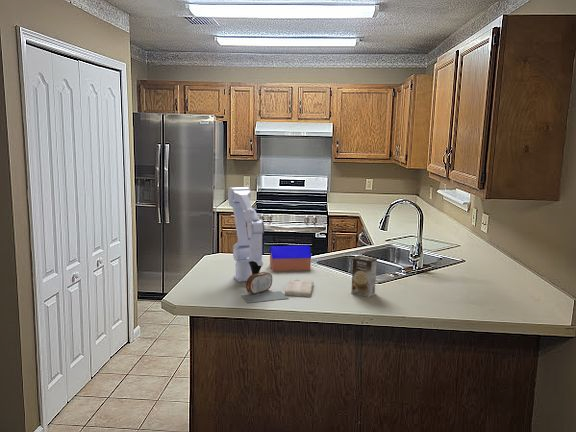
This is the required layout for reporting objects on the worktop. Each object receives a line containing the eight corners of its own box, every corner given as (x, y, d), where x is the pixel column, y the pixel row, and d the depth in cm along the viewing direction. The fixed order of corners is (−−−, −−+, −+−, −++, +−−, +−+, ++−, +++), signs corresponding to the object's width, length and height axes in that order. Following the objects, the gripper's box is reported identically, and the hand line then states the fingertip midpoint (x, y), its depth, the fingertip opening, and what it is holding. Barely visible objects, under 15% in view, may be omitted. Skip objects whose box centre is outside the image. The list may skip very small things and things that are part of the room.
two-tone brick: (269, 265, 270) (269, 243, 268) (306, 264, 273) (306, 242, 271) (272, 271, 258) (272, 249, 256) (311, 270, 262) (311, 248, 260)
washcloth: (313, 285, 238) (313, 279, 237) (311, 298, 220) (311, 291, 219) (288, 284, 239) (288, 278, 238) (284, 296, 221) (284, 290, 221)
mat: (241, 295, 220) (241, 295, 220) (280, 291, 226) (280, 291, 226) (247, 303, 211) (247, 302, 211) (288, 298, 217) (288, 298, 217)
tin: (268, 287, 231) (268, 269, 230) (273, 289, 229) (273, 270, 228) (245, 295, 220) (245, 275, 219) (250, 296, 218) (250, 276, 217)
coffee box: (350, 293, 226) (351, 257, 223) (356, 289, 231) (358, 255, 228) (369, 297, 221) (371, 261, 218) (375, 293, 226) (377, 258, 223)
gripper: (242, 244, 233) (242, 273, 235) (251, 252, 220) (251, 282, 222) (257, 243, 235) (257, 272, 238) (267, 251, 222) (267, 281, 224)
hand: (255, 277), depth 230 cm, fingers closed
